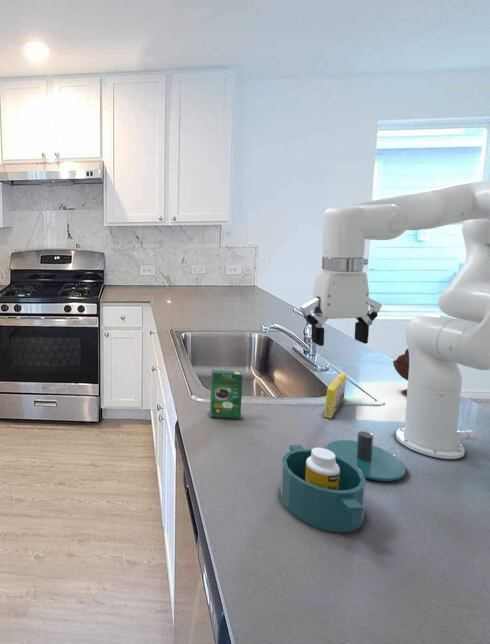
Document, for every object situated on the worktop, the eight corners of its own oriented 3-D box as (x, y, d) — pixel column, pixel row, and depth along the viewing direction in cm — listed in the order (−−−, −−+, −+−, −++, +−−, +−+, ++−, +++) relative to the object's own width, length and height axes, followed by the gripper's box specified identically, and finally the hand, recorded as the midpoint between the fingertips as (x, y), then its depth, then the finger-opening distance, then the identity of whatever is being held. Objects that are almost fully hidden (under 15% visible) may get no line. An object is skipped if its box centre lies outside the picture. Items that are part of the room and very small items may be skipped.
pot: (324, 473, 88) (326, 440, 87) (393, 543, 69) (396, 502, 68) (262, 475, 87) (263, 443, 86) (314, 546, 68) (316, 505, 68)
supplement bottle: (328, 517, 74) (331, 465, 73) (298, 500, 79) (300, 451, 78) (343, 505, 77) (346, 455, 76) (313, 489, 82) (316, 441, 81)
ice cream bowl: (383, 386, 131) (386, 341, 129) (421, 388, 129) (425, 342, 128) (404, 401, 120) (408, 352, 119) (446, 403, 119) (450, 353, 117)
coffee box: (239, 414, 114) (240, 370, 113) (241, 419, 112) (242, 373, 110) (210, 413, 116) (210, 368, 114) (211, 417, 113) (211, 372, 112)
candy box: (332, 419, 111) (334, 390, 110) (323, 417, 112) (325, 388, 111) (345, 399, 123) (346, 373, 122) (336, 397, 124) (338, 371, 123)
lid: (371, 443, 99) (373, 417, 98) (423, 482, 84) (426, 452, 83) (312, 445, 98) (313, 419, 98) (353, 485, 84) (355, 454, 83)
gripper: (368, 261, 91) (365, 336, 93) (293, 265, 90) (291, 339, 92) (395, 265, 83) (391, 346, 85) (313, 269, 83) (310, 350, 85)
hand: (339, 342), depth 89 cm, fingers open, 9 cm apart
